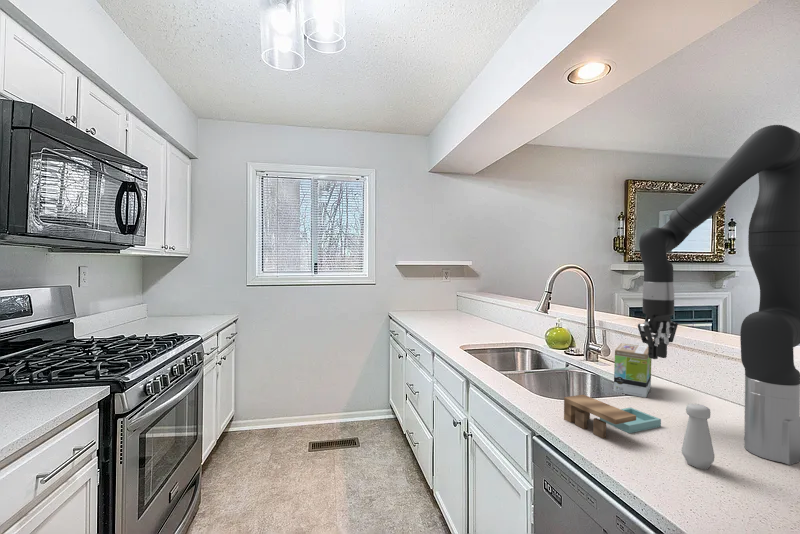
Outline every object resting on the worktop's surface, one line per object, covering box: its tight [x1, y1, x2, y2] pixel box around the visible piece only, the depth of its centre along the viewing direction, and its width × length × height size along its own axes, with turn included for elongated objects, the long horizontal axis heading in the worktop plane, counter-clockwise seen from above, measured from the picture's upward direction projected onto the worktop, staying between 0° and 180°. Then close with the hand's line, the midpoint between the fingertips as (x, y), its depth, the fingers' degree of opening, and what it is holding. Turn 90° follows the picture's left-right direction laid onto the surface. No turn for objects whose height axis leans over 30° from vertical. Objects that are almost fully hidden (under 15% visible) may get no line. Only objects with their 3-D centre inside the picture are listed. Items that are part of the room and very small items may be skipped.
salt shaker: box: [681, 403, 715, 470], centre depth 84 cm, size 6×6×13 cm
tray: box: [599, 407, 662, 434], centre depth 106 cm, size 9×12×2 cm
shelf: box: [563, 394, 636, 440], centre depth 102 cm, size 16×7×6 cm, turn 21°
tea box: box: [613, 343, 652, 399], centre depth 135 cm, size 15×10×15 cm, turn 143°
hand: (657, 357), depth 110 cm, fingers open, 3 cm apart
